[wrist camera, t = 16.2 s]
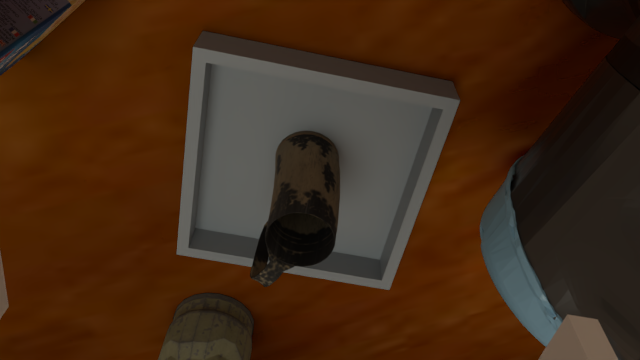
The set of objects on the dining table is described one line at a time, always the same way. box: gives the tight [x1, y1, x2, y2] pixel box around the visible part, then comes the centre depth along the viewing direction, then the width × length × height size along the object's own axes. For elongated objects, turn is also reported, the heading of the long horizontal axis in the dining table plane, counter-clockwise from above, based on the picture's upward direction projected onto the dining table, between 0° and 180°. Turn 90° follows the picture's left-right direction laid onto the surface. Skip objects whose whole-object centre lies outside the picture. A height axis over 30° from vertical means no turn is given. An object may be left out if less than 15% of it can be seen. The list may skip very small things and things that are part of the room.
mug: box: [250, 131, 340, 287], centre depth 44 cm, size 8×6×12 cm
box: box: [177, 31, 460, 290], centre depth 48 cm, size 20×20×4 cm
